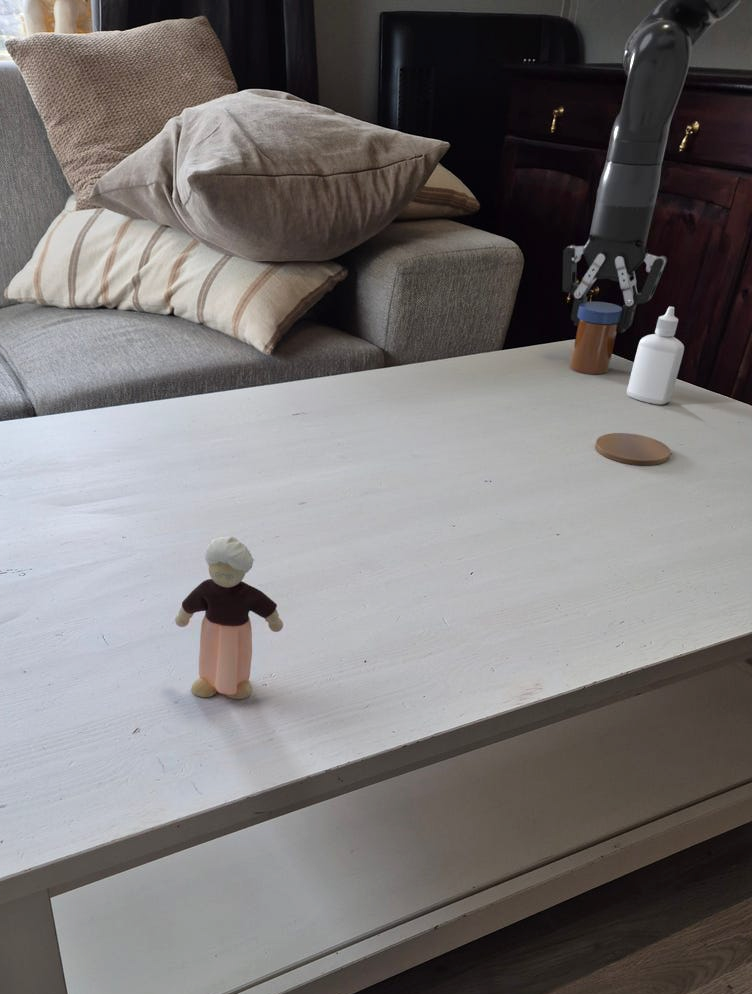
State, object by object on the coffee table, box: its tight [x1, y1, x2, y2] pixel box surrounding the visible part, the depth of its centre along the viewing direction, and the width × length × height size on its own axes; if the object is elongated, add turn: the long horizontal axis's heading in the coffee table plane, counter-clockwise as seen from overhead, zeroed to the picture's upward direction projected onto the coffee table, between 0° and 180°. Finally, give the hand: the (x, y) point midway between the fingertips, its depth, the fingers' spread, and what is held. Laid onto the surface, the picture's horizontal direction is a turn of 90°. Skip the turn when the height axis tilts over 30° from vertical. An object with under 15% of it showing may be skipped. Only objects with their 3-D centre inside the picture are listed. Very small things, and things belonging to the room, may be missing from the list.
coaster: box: [594, 432, 671, 466], centre depth 109 cm, size 8×8×1 cm
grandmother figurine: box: [174, 536, 284, 700], centre depth 65 cm, size 8×4×13 cm, turn 96°
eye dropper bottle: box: [626, 306, 685, 405], centre depth 121 cm, size 4×6×12 cm
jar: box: [569, 319, 619, 375], centre depth 132 cm, size 5×5×8 cm
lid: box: [577, 301, 623, 324], centre depth 130 cm, size 6×6×2 cm
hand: (599, 327), depth 132 cm, fingers closed on lid, 5 cm apart
